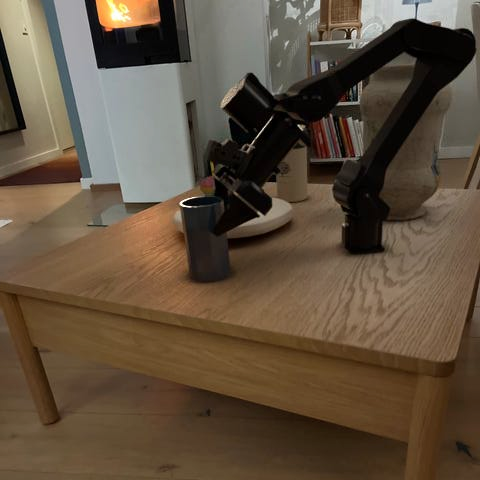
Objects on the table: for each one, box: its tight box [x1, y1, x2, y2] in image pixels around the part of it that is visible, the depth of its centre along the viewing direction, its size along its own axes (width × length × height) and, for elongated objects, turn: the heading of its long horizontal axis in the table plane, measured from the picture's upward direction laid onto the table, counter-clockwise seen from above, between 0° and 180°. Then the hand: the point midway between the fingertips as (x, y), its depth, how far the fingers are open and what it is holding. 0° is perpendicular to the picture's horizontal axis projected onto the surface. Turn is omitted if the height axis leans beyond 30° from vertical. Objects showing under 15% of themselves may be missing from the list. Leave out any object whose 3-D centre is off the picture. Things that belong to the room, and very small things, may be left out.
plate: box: [172, 197, 294, 239], centre depth 106 cm, size 28×6×27 cm
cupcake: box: [199, 161, 217, 196], centre depth 128 cm, size 9×8×12 cm
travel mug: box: [275, 124, 308, 203], centre depth 122 cm, size 8×8×18 cm
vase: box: [358, 63, 453, 221], centre depth 101 cm, size 18×18×30 cm
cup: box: [179, 195, 231, 283], centre depth 81 cm, size 7×7×13 cm
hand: (209, 227), depth 81 cm, fingers open, 9 cm apart
